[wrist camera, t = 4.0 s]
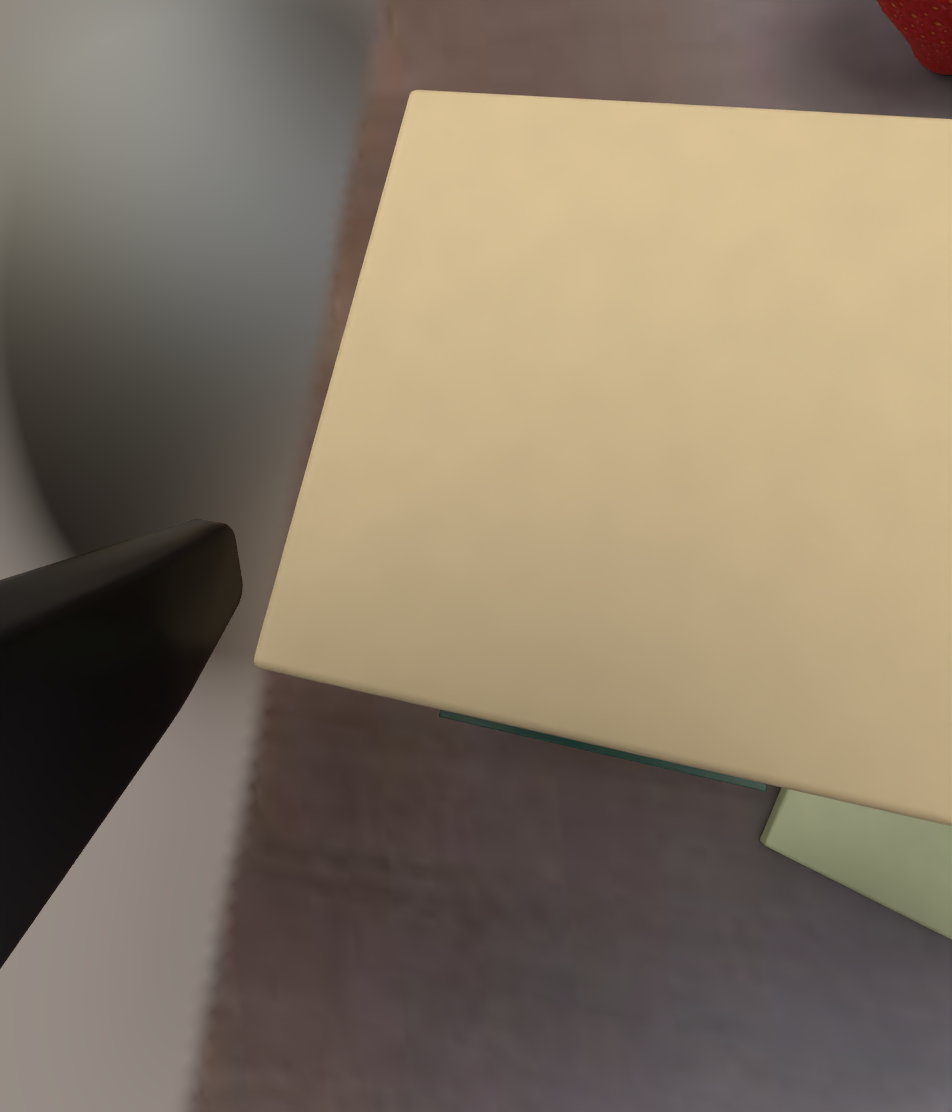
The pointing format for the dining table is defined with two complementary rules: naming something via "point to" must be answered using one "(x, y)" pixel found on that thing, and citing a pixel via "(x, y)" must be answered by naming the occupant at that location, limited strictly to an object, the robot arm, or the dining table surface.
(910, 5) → the strawberry
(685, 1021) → the dining table surface
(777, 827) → the block line
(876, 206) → the tall cream block
